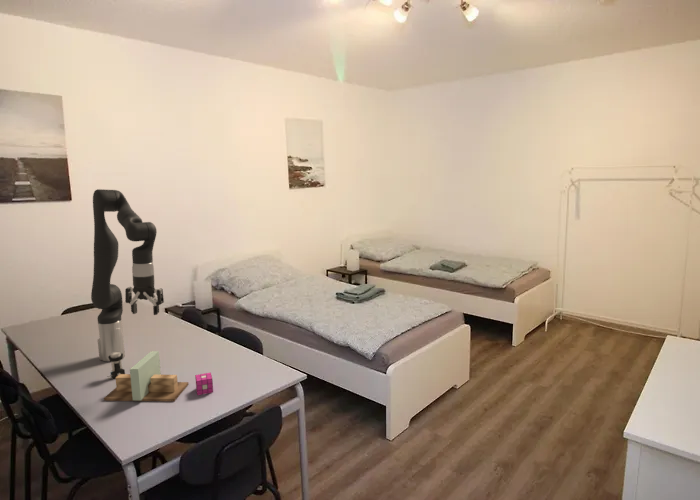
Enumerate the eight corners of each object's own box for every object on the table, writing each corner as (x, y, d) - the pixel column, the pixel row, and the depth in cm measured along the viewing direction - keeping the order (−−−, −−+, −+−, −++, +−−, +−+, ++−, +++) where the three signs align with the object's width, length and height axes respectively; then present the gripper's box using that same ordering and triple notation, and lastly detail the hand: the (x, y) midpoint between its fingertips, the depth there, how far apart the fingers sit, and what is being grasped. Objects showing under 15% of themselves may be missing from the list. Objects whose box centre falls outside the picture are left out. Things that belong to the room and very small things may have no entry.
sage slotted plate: (153, 379, 173) (151, 351, 171) (161, 379, 173) (158, 351, 171) (132, 400, 158) (129, 369, 156) (140, 400, 158) (138, 369, 155)
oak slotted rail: (104, 400, 159) (102, 383, 158) (123, 383, 172) (121, 368, 171) (174, 401, 159) (173, 384, 158) (188, 384, 171) (187, 369, 170)
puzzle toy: (197, 395, 163) (196, 381, 162) (196, 388, 168) (195, 374, 167) (213, 392, 165) (212, 378, 164) (211, 385, 171) (210, 372, 170)
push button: (110, 382, 174) (108, 358, 172) (104, 378, 177) (102, 355, 175) (127, 376, 179) (125, 352, 177) (121, 372, 182) (118, 349, 180)
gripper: (165, 272, 172) (167, 312, 175) (131, 270, 173) (133, 310, 176) (156, 277, 165) (158, 318, 168) (119, 275, 166) (122, 316, 169)
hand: (145, 313), depth 172 cm, fingers open, 8 cm apart
